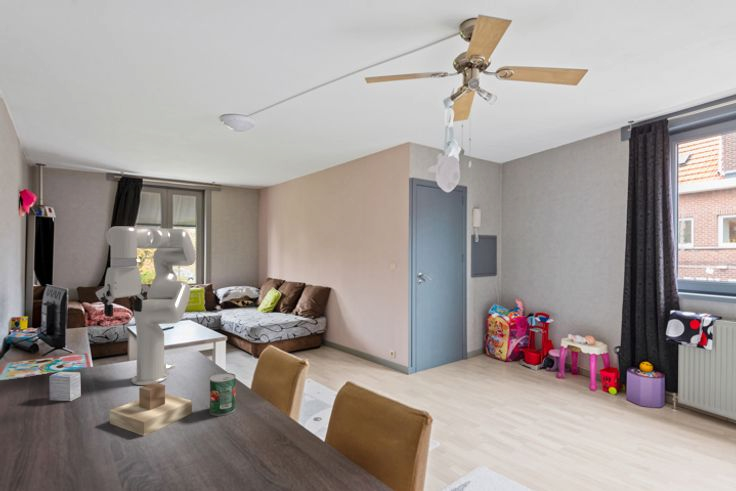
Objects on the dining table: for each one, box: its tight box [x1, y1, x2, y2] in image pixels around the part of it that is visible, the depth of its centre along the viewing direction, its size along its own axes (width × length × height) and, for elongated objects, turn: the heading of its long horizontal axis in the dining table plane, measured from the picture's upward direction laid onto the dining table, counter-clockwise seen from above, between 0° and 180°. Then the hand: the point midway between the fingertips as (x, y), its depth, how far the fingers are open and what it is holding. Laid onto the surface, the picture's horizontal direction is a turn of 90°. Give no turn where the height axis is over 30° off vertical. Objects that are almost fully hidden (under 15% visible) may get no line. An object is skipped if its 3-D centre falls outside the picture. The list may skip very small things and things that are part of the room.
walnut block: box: [138, 382, 166, 410], centre depth 119 cm, size 5×5×6 cm
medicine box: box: [48, 371, 82, 402], centre depth 133 cm, size 8×4×9 cm, turn 84°
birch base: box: [109, 393, 193, 437], centre depth 119 cm, size 16×16×4 cm
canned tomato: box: [209, 372, 237, 417], centre depth 125 cm, size 8×8×11 cm
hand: (123, 313), depth 130 cm, fingers open, 9 cm apart
